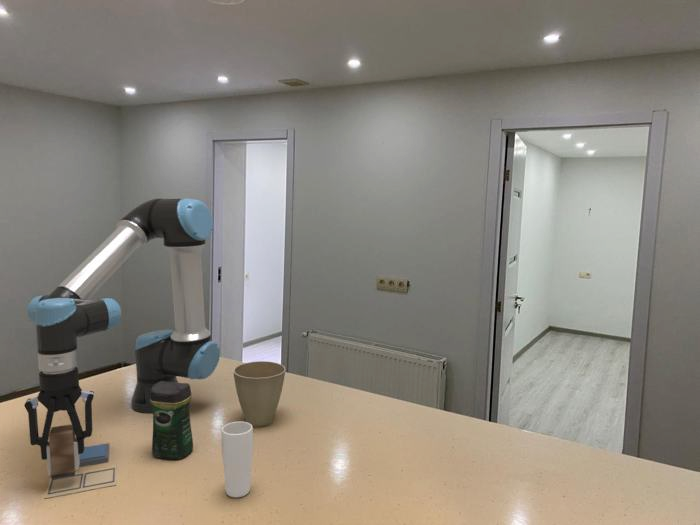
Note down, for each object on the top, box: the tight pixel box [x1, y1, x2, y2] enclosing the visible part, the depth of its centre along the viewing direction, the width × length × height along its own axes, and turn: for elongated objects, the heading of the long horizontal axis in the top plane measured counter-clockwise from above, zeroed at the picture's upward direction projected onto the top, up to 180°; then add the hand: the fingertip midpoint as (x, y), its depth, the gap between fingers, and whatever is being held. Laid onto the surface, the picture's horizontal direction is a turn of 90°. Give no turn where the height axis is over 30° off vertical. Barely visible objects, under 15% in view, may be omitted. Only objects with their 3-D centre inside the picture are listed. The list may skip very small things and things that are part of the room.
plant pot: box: [232, 360, 286, 428], centre depth 148 cm, size 15×15×16 cm
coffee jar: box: [150, 381, 194, 460], centre depth 129 cm, size 10×8×19 cm
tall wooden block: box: [48, 424, 77, 479], centre depth 114 cm, size 4×4×10 cm
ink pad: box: [79, 442, 111, 468], centre depth 127 cm, size 10×8×2 cm
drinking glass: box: [221, 421, 254, 498], centre depth 112 cm, size 7×7×15 cm
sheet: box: [44, 465, 118, 500], centre depth 116 cm, size 14×9×1 cm, turn 113°
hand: (64, 469), depth 114 cm, fingers closed on tall wooden block, 4 cm apart
